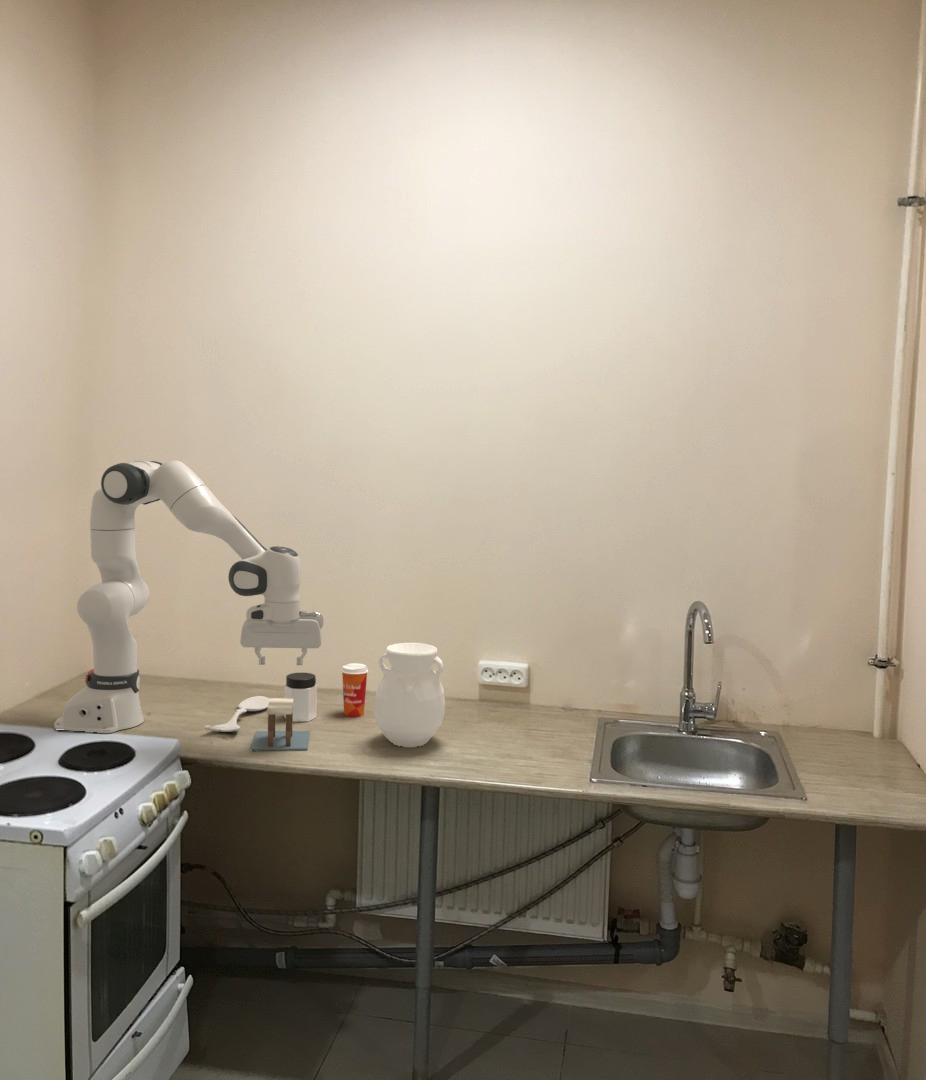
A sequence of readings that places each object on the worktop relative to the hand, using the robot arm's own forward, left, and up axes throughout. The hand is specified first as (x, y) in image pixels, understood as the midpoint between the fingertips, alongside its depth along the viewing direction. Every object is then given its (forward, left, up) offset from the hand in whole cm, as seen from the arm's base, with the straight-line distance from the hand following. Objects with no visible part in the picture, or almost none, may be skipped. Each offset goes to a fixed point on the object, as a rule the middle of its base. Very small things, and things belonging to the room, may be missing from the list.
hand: (280, 664), depth 234 cm
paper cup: (+19, +24, -21) cm, 37 cm away
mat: (0, +1, -21) cm, 21 cm away
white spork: (-12, +20, -21) cm, 31 cm away
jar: (+4, +21, -21) cm, 30 cm away
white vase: (+33, 0, -21) cm, 39 cm away
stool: (0, 0, -20) cm, 20 cm away
